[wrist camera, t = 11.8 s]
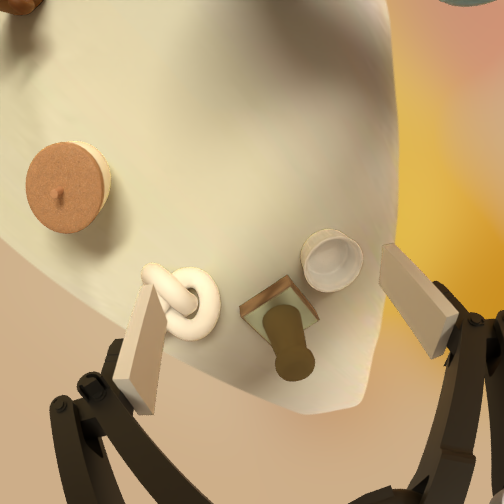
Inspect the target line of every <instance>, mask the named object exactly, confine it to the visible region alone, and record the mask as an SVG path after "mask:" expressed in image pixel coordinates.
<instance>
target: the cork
mask: <svg viewBox="0 0 504 504" xmlns="http://www.w3.org/2000/svg"><path fill="white" fill-rule="evenodd" d="M262 324H263V327H264V330H265V332H266V334H267V336H268V339H269V341H270V343H271V345H272V347H273V350H274V352H275V354H276V356H277V358H276V361H275V367H276V371H277V373H278V374H279V376H280V377H281V378H283V379H284V380H286V381H299V380H302V379H305V378H306V377H308V376H309V375H310V374H311V373H312V371H313V369H314V367H315V359H314V356H313V354H312V352H311V351H310V350H309V349H308V348H307V347H306V342H305V336H304V330H303V325H302V319H301V314H300V312H299V310H298V309H297V308H296V307H294V306H292V305H286V304H283V305H277V306H275V307H273V308H271V309H270V310H268V311H267V312H266V314H265V315H264V317H263V320H262Z"/></svg>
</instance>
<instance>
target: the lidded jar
mask: <svg viewBox="0 0 504 504" xmlns="http://www.w3.org/2000/svg"><path fill="white" fill-rule="evenodd" d="M110 187H111V173H110V169H109V165H108V163H107V161H106V159H105V157H104V156H103V155H102V153H101V152H100V151H99V150H98V149H96V148H95V147H94V146H92V145H90V144H87V143H84V142H80V141H67V142H60V143H55V144H52V145H50V146H47V147H45V148H44V149H42V150H41V151H40V152H39V153H38V154H37V155H36V156H35V158H34V159H33V161H32V162H31V164H30V166H29V169H28V172H27V177H26V195H27V199H28V203H29V205H30V208H31V210H32V212H33V213H34V215H35V216H36V218H37V219H38V220H39V221H40V222H41V223H42V224H43V225H44V226H46V227H47V228H49V229H51V230H53V231H56V232H59V233H66V234H67V233H74V232H78V231H80V230H82V229H84V228H85V227H87V226H88V225H89V224H90V223H91V222H92V221H93V220H94V219H95V217H96V216H97V215H98V213H99V212H100V210H101V209H102V208H103V206H104V204H105V202H106V200H107V198H108V195H109V192H110Z"/></svg>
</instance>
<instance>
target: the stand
mask: <svg viewBox="0 0 504 504" xmlns="http://www.w3.org/2000/svg"><path fill="white" fill-rule="evenodd" d="M283 304H286V305H292V306H294V307H296V308H297V309H298V310H299V312H300V314H301V319H302V325H303V330H305V329H306V328H308V327H310V326H311V325H313V324H314V323H316V322H317V321H318V320H320V319H319V317H318V315H317V313H316V311H315V309H314V308H313V307H312V305H311V304H310V303H309V302H308V300H307V299H306V298H305V297H304V295H303V294H302V293H301V292H300V290H299V289H298V288H297V286H296V285H295V284H294V283H293V281H292V280H291V279H290V278H289V276H288V275H286V276H285V277H283V278H282V279H280V280H279V281H277V282H276V283H274V284H273V285H271V286H270V287H268V288H267V289H265V290H264V291H262V292H261V293H259V294H258V295H256V296H255V297H253V298H252V299H250V300H248V301H247V302H245V303H244V304H242V305H241V306H239V307H240V314H241V317H242V318H243V319H244V320H245V321H246V322H247V323H248V324H249V325H250V326H251V327H252V328H253V329H254V330H255V331H256V332H257V333H258V334H259V335H260V336H261V337H262V338H263V339H265V340H266V341H267V342H268V343H269V344H270V345H271V343H270V341H269V339H268V336H267V334H266V332H265V330H264V327H263V324H262V320H263V317H264V315H265V314H266V312H267V311H268V310H270V309H271V308H273V307H275V306H277V305H283ZM271 346H272V345H271Z"/></svg>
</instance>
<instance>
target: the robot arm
mask: <svg viewBox="0 0 504 504" xmlns="http://www.w3.org/2000/svg"><path fill="white" fill-rule="evenodd" d="M440 1H441V2H445V3H447V4H449V5H453V6H461V7H469V6H478V5H483V4H487V3H490V2H493V1H495V0H440ZM379 285H380V286H381V288H382V289H383V290H384V292H385V293H386V295H387V296H388V297H389V299H390V300H391V301H392V303H393V304H394V306H395V307H396V308H397V310H398V311H399V313H400V314H401V315H402V317H403V318H404V320H405V321H406V323H407V324H408V326H409V327H410V328H411V330H412V331H413V333H414V334H415V336H416V337H417V339H418V340H419V342H420V343H421V345H422V346H423V348H424V349H425V351H426V353H427V354H428V356H429V357H430V359H434V358H436V357H439V356H441V355H443V354H444V351H445V349H446V346H447V348H448V349H449V350H450V353H449V355H448V358H447V360H446V362H445V364H444V366H446V371H445V376H444V381H443V385H442V390H441V394H440V398H439V402H438V407H437V410H436V414H435V418H434V421H433V424H432V428H431V431H430V434H429V437H428V441H427V444H426V447H425V450H424V453H423V455H422V458H421V461H420V464H419V467H418V469H417V472H416V474H415V475H414V477H413V479H412V480H411V482H410V484H409V486H408V488H407V489H392V488H391V485H390V486H387V487H384V488H381V489H379V490H376V491H373V492H370V493H367V494H365V495H363V496H361V497H359V498H358V499H356V500H354V501H352V502H350V503H348V504H464V501H465V498H466V495H467V491H468V488H469V485H470V481H471V478H472V474H473V471H474V467H475V461H476V457H475V456H474V455H473V448H474V443H475V438H476V433H477V428H478V422H479V416H480V410H481V403H482V395H483V385H484V378H485V385H486V392H487V400H488V408H489V418H490V431H491V452H492V453H491V457H492V458H491V460H492V470H491V471H492V472H491V475H492V476H491V478H492V492H493V498H492V499H491V501H490V504H504V310H502V311H500V312H498V314H497V317H496V319H484V318H483V317H482V316H481V315H479V314H477V313H472V312H470V313H469V312H468V311H467V310H466V309H465V308H464V306H463V305H462V304H461V303H460V302H459V301H458V300H457V299H456V297H454V295H453V294H452V293H451V292H450V291H449V290H448V289H447V288H446V287H445V286H444V285H443V284H441V283H439V282H438V281H434V282H431V281H430V280H429V279H428V278H427V277H426V276H425V274H424V273H422V271H421V270H420V269H419V268H418V267H417V266H416V265H415V264H414V263H413V262H412V261H411V260H410V259H409V258H408V257H407V256H406V255H405V254H404V253H403V252H402V251H401V250H400V249H399V248H398V247H397V246H396V245H395V244H394V243H392V244H386V245H383V247H382V258H381V268H380V278H379ZM167 322H168V321H167V319H166V316H165V313H164V311H163V308H162V306H161V303H160V300H159V298H158V295H157V292H156V290H155V287H154V284H150V285H144V286H141V287H140V290H139V293H138V296H137V299H136V302H135V305H134V308H133V311H132V314H131V317H130V320H129V324H128V327H127V330H126V333H125V337H124V338H123V339H115V340H114V341H113V343H112V344H111V345H110V346H109V350H108V353H107V356H106V359H105V363H104V365H103V368H102V372H101V374H100V373H98V372H89V373H87V374H85V375H83V376H82V377H81V378H80V380H79V381H78V383H77V390H78V392H79V393H80V395H81V396H82V397H83V398H81V399H77V400H74V401H72V400H71V398H69V397H68V396H66V395H62V396H58V397H56V398H55V399H54V400H53V401H52V403H51V405H50V410H49V411H50V420H51V428H52V435H53V441H54V447H55V453H56V458H57V464H58V468H59V473H60V477H61V482H62V485H63V490H64V494H65V497H66V501H67V504H125V502H124V500H123V497H122V495H121V492H120V490H119V487H118V485H117V482H116V479H115V477H114V474H113V471H112V469H111V465H110V463H109V460H108V457H107V454H106V450H105V447H104V445H103V441H102V436H106V435H107V436H108V438H109V439H110V441H111V442H112V444H113V445H114V447H115V448H116V450H117V451H118V453H119V454H120V456H121V457H122V458H123V460H124V461H125V463H126V464H127V465H128V467H129V468H130V469H131V471H132V472H133V473H134V475H135V476H136V477H137V478H138V480H139V481H140V483H141V484H142V485H143V486H144V487H145V489H146V490H147V491H148V492H149V494H150V495H151V496H152V497H153V498H154V499H155V501H156V502H157V503H158V504H213V503H212V502H211V501H210V500H209V499H208V498H207V497H206V496H204V495H203V494H202V493H201V492H200V491H199V490H198V489H197V488H196V487H195V486H194V485H193V484H192V483H191V482H190V481H189V480H188V479H187V478H186V477H185V476H184V475H183V474H182V473H181V472H180V471H179V470H178V469H177V468H176V467H175V466H174V464H173V463H172V462H171V461H170V460H169V459H168V458H167V457H166V456H165V455H164V453H163V452H162V451H161V450H160V449H159V448H158V447H157V445H156V444H155V443H154V442H153V441H152V440H151V438H150V437H149V436H148V435H147V434H146V432H145V431H144V430H143V429H142V427H141V426H140V425H139V424H138V422H137V421H136V420H135V418H134V417H133V411H134V410H135V411H136V412H137V414H138V415H154V410H155V401H156V394H157V386H158V379H159V372H160V365H161V358H162V352H163V346H164V339H165V333H166V327H167Z"/></svg>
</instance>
